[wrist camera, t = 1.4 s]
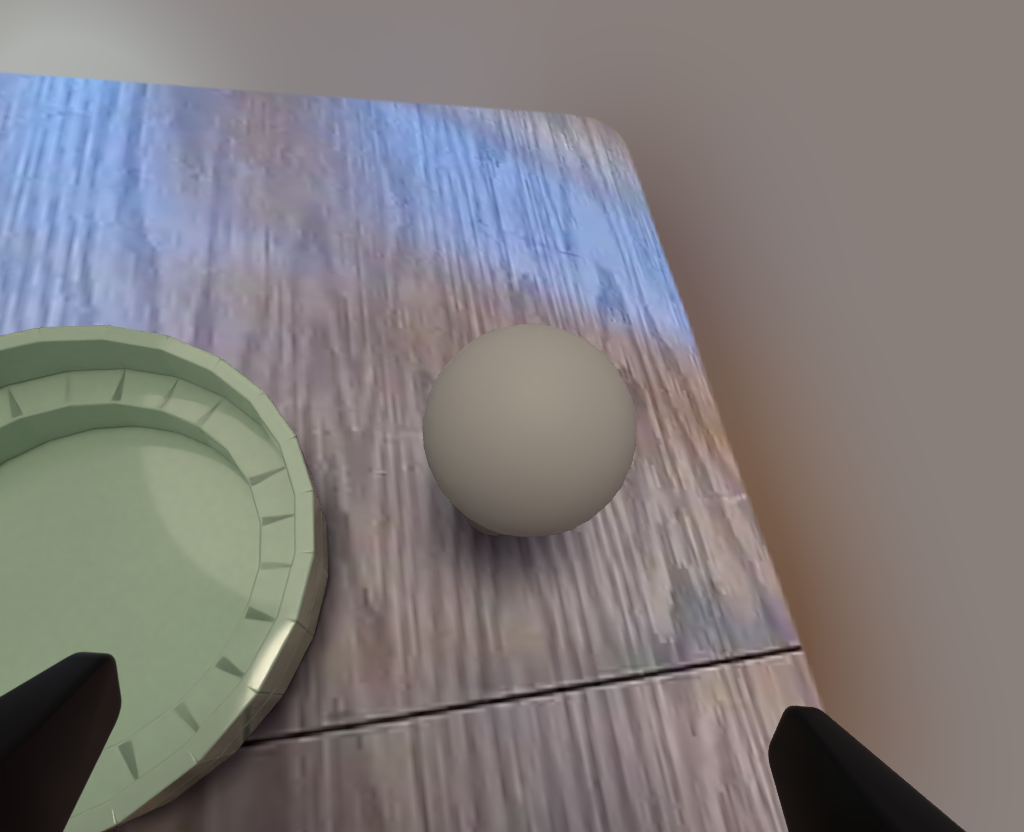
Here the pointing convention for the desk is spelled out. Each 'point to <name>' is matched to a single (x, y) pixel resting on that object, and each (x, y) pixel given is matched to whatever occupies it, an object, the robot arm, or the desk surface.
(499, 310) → the desk surface
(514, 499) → the lightbulb
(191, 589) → the bowl
